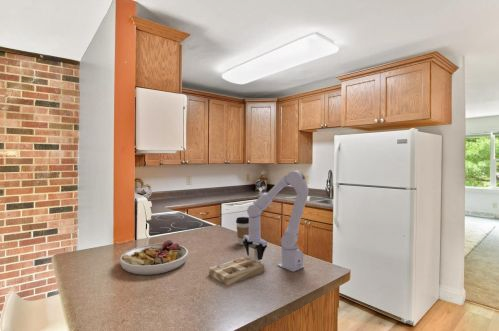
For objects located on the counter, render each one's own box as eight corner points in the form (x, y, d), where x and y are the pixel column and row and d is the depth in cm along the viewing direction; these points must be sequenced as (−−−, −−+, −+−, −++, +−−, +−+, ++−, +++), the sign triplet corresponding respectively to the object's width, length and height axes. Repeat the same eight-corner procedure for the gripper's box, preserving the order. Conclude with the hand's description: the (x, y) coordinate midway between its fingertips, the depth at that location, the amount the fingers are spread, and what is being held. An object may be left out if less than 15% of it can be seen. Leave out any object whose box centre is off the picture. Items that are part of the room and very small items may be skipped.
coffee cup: (244, 246, 155) (244, 219, 154) (232, 243, 160) (233, 217, 160) (253, 242, 162) (253, 217, 161) (242, 240, 167) (242, 215, 166)
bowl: (169, 281, 112) (169, 261, 112) (104, 274, 118) (104, 256, 118) (197, 255, 142) (197, 240, 141) (144, 251, 148) (144, 236, 147)
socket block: (264, 271, 121) (264, 264, 121) (227, 285, 108) (227, 277, 108) (244, 263, 131) (244, 256, 130) (209, 274, 117) (209, 267, 117)
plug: (260, 261, 133) (260, 245, 132) (254, 263, 130) (254, 246, 130) (254, 259, 136) (254, 243, 135) (248, 261, 133) (248, 244, 133)
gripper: (238, 227, 135) (238, 255, 135) (259, 233, 124) (259, 263, 125) (249, 225, 140) (249, 251, 140) (270, 231, 129) (269, 259, 129)
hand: (254, 257), depth 133 cm, fingers open, 7 cm apart
